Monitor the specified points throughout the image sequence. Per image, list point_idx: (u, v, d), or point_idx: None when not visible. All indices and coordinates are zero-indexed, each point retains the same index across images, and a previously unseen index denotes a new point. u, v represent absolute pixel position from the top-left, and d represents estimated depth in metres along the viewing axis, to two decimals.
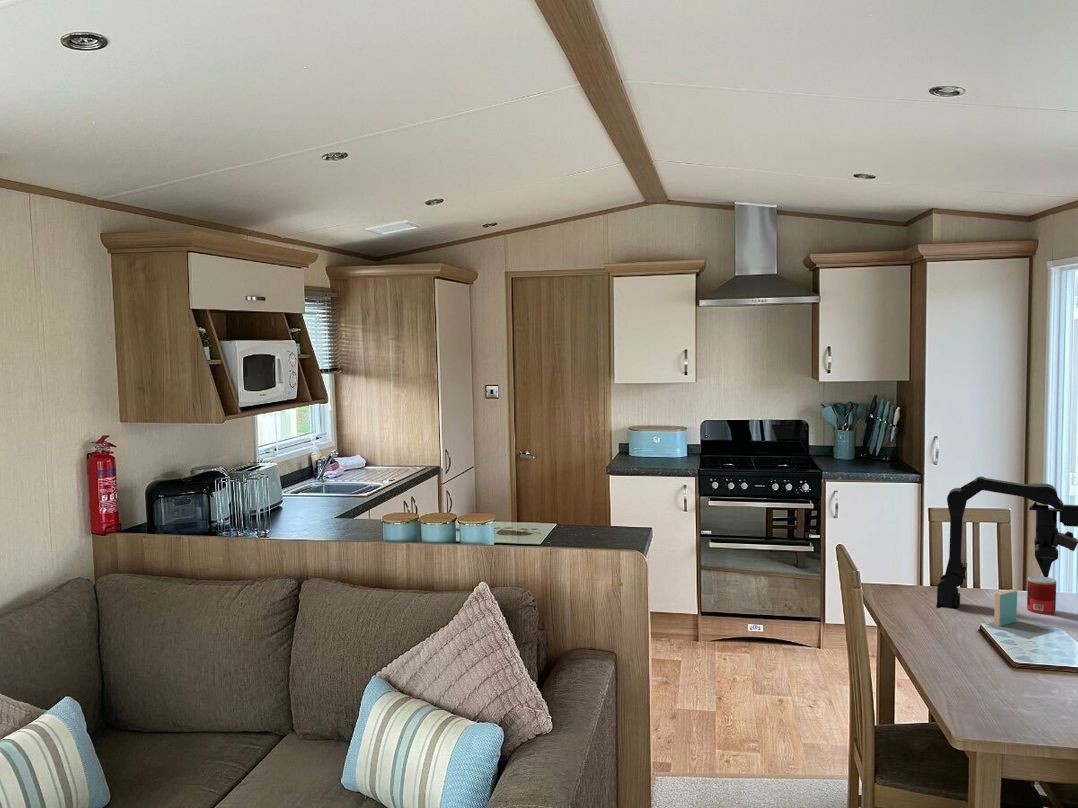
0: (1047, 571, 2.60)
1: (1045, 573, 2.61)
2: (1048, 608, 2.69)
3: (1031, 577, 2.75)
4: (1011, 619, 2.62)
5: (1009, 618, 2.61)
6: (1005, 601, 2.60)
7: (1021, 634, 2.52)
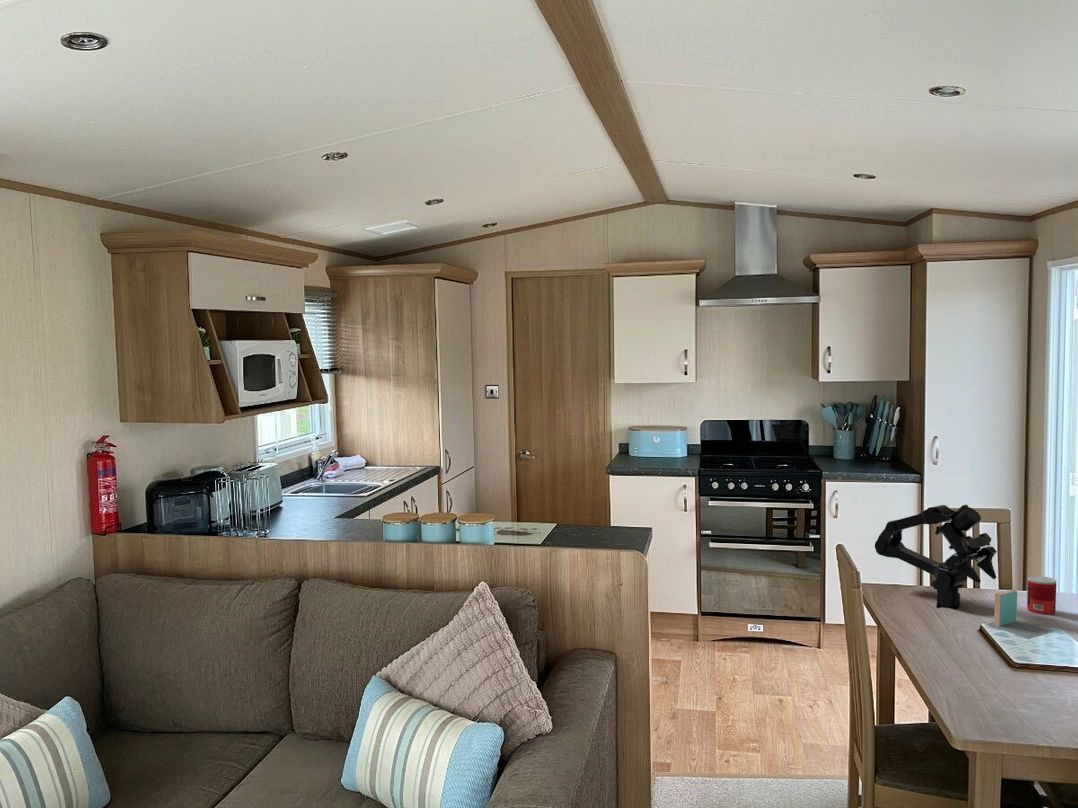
0: (974, 576, 2.66)
1: (976, 579, 2.66)
2: (1048, 608, 2.69)
3: (1031, 577, 2.75)
4: (1011, 619, 2.62)
5: (1009, 618, 2.61)
6: (1005, 601, 2.60)
7: (1021, 634, 2.52)
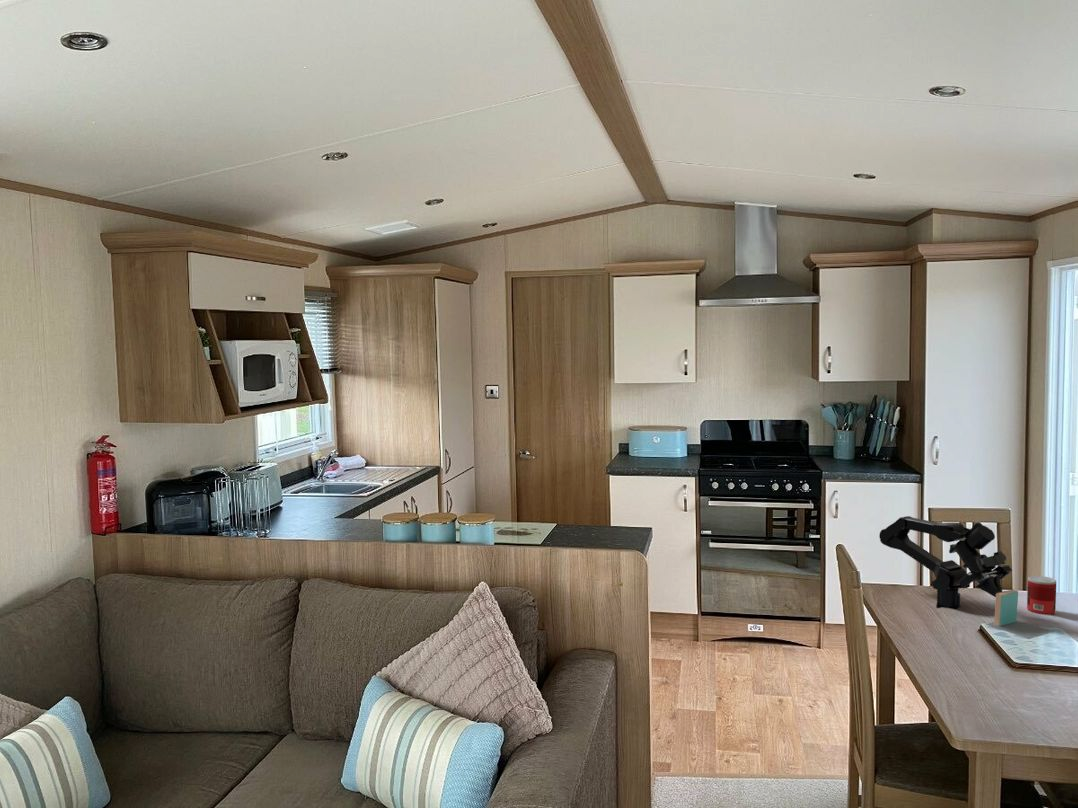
0: None
1: None
2: (1048, 608, 2.69)
3: (1031, 577, 2.75)
4: (1011, 619, 2.62)
5: (1009, 618, 2.61)
6: (1006, 601, 2.59)
7: (1021, 634, 2.52)
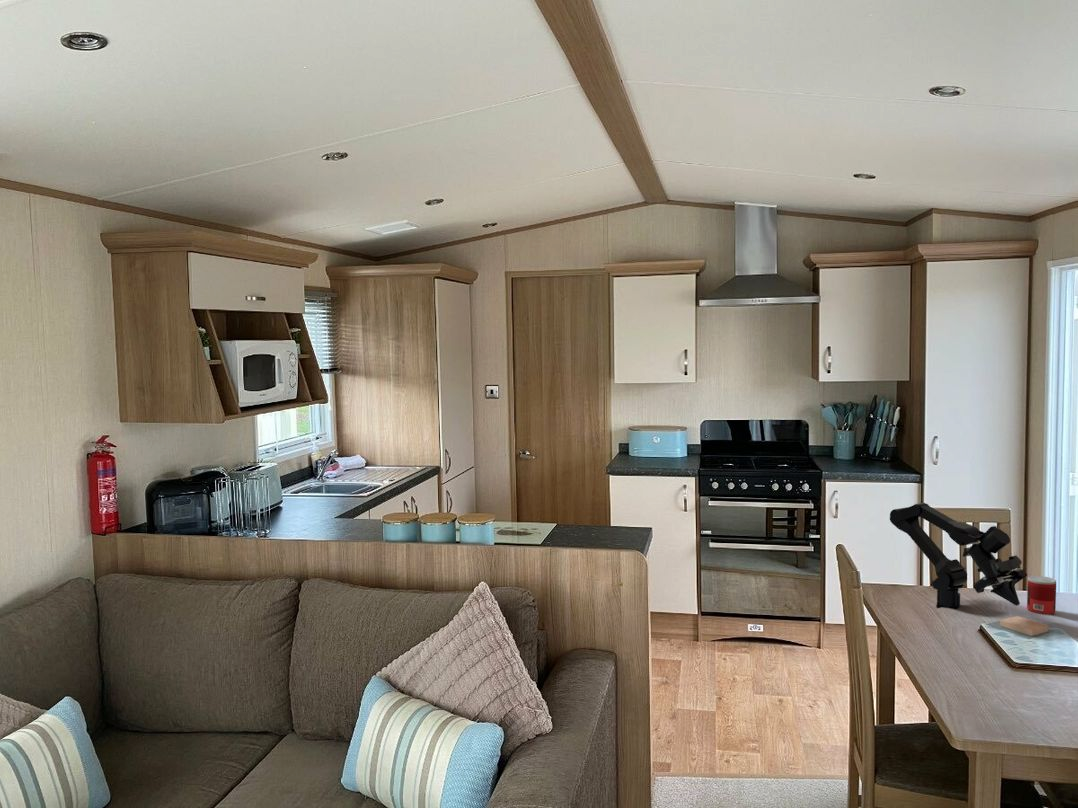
0: (1012, 598, 2.58)
1: (1014, 601, 2.58)
2: (1048, 608, 2.69)
3: (1031, 577, 2.75)
4: None
5: None
6: None
7: (1021, 634, 2.52)
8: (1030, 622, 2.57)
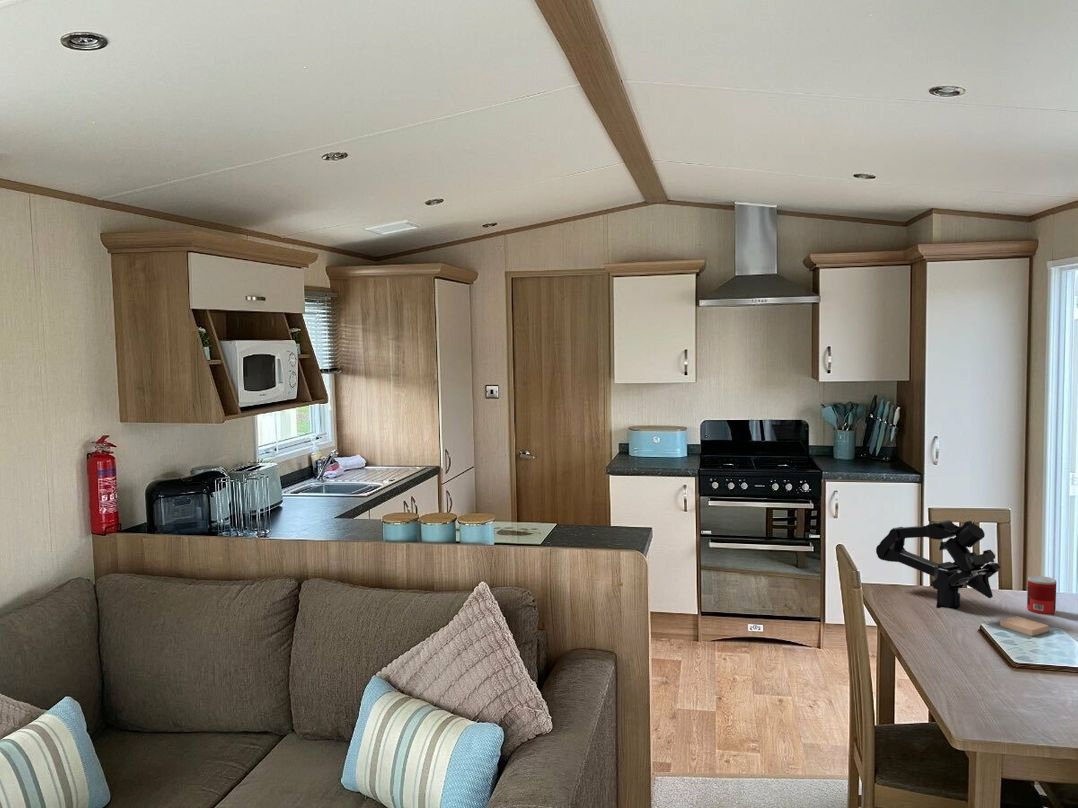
0: (986, 591, 2.66)
1: (987, 594, 2.66)
2: (1048, 608, 2.69)
3: (1031, 577, 2.75)
4: None
5: None
6: None
7: (1021, 634, 2.52)
8: (1030, 622, 2.57)
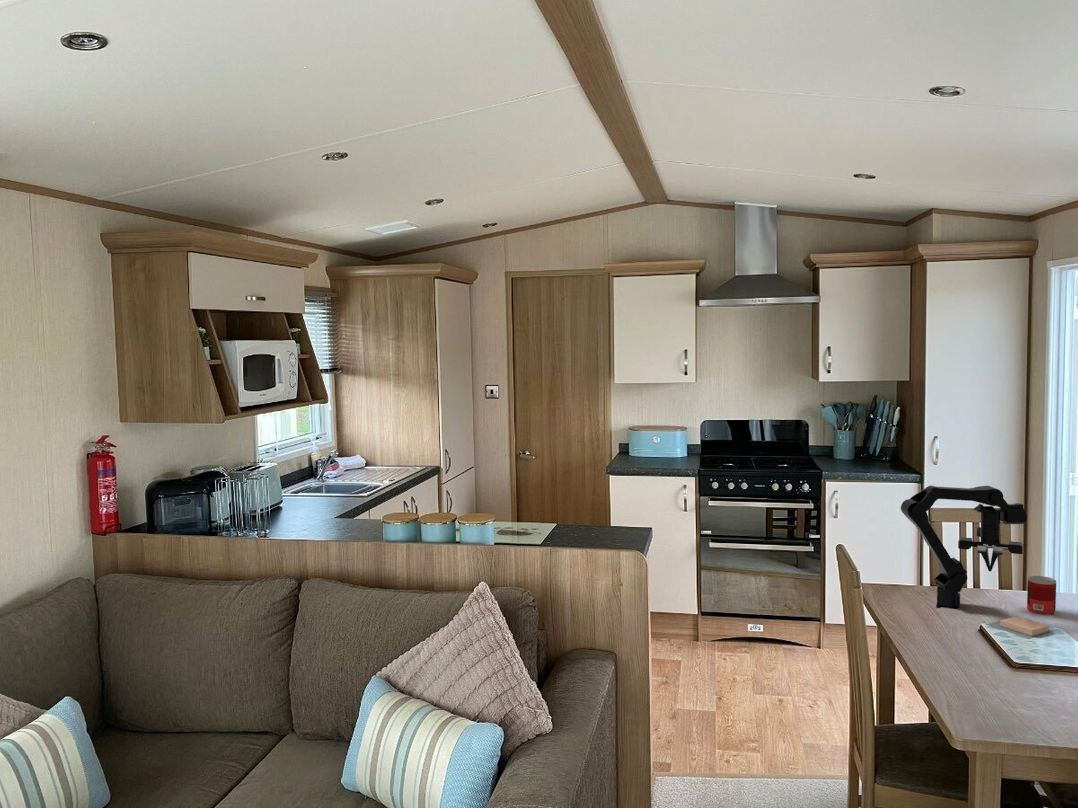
0: None
1: (991, 567, 2.78)
2: (1048, 608, 2.69)
3: (1031, 577, 2.75)
4: None
5: None
6: None
7: (1021, 634, 2.52)
8: (1030, 622, 2.57)
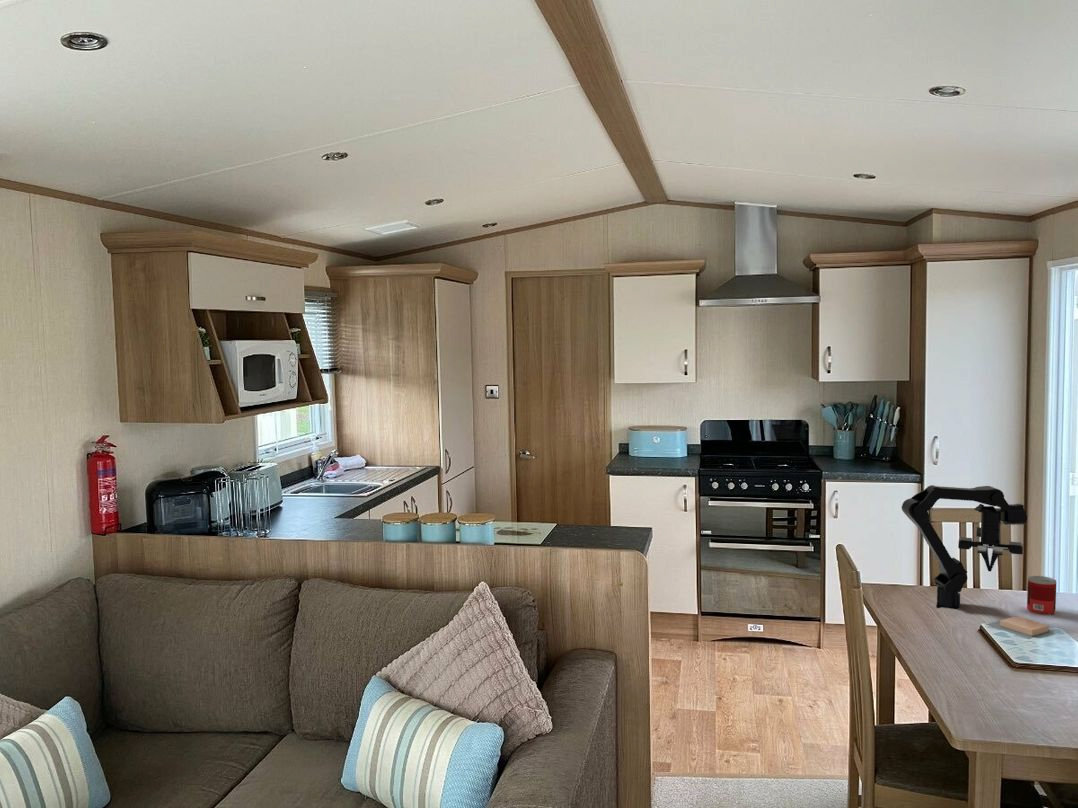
0: None
1: (991, 567, 2.78)
2: (1048, 608, 2.69)
3: (1031, 577, 2.75)
4: None
5: None
6: None
7: (1021, 634, 2.52)
8: (1030, 622, 2.57)
